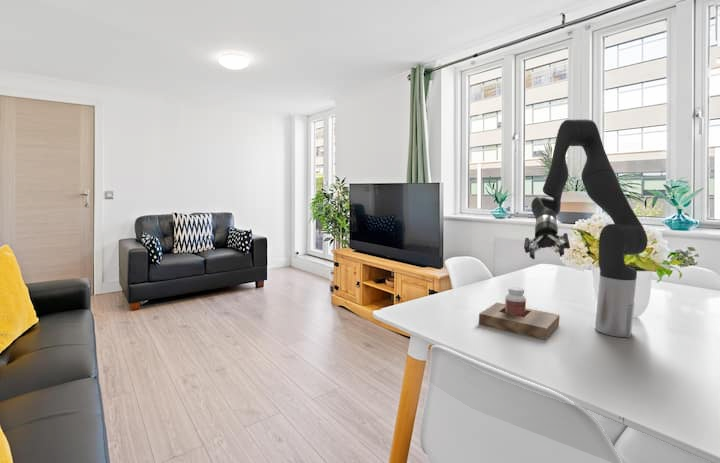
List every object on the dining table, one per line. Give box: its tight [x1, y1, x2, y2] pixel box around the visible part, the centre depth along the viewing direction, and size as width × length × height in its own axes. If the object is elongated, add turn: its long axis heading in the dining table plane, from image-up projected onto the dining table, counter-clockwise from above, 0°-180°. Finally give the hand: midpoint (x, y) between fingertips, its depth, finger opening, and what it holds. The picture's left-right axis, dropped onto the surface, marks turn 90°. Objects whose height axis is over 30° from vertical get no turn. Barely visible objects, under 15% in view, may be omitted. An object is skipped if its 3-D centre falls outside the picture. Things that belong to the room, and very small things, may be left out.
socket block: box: [478, 302, 560, 341], centre depth 124 cm, size 20×16×4 cm
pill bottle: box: [504, 286, 527, 317], centre depth 126 cm, size 6×6×11 cm
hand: (546, 255), depth 131 cm, fingers open, 8 cm apart
